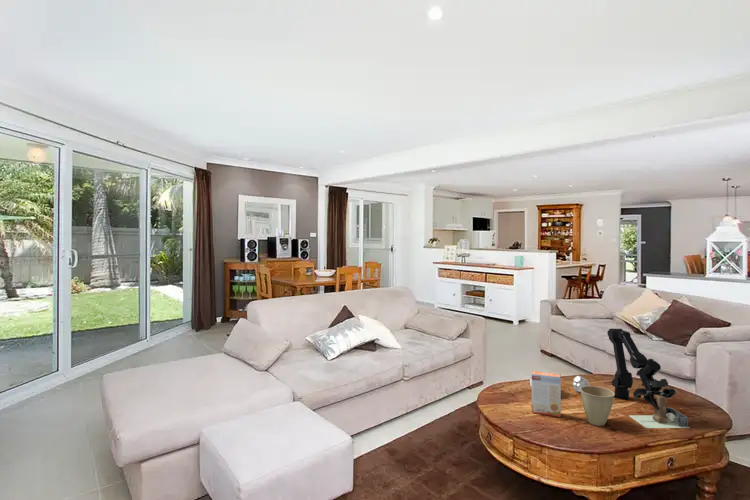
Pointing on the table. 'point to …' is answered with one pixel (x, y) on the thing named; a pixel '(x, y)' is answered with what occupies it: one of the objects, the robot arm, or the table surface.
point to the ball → (671, 417)
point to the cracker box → (546, 393)
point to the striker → (660, 410)
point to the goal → (679, 417)
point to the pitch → (654, 422)
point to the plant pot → (597, 404)
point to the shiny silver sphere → (579, 383)
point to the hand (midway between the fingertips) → (662, 409)
